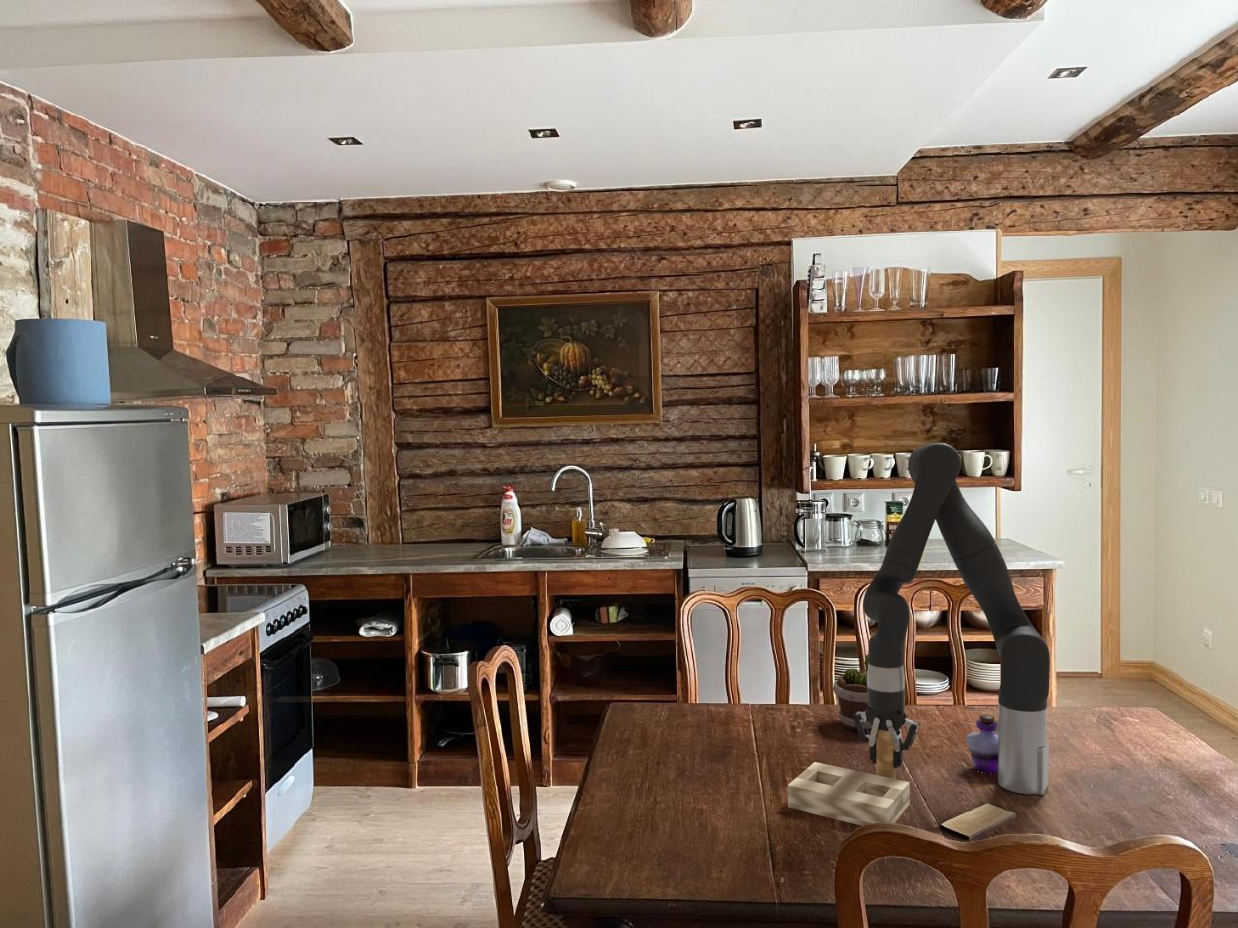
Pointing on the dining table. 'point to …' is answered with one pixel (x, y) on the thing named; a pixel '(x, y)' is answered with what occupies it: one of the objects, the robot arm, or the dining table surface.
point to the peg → (885, 755)
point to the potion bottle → (984, 745)
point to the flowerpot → (852, 695)
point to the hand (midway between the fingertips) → (886, 764)
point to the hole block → (848, 795)
